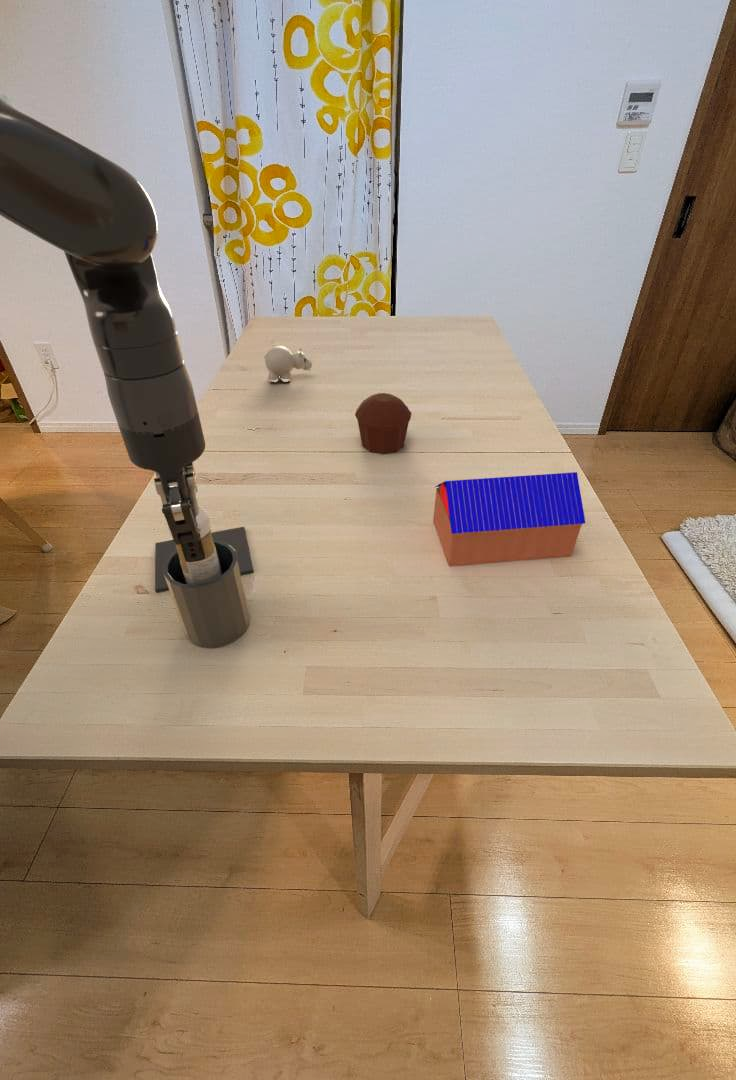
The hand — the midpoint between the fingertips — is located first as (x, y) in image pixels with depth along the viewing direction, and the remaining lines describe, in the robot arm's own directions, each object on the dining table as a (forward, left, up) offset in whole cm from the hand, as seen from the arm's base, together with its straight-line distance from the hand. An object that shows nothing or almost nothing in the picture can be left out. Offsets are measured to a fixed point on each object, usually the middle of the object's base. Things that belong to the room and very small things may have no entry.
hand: (194, 544), depth 61 cm
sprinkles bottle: (0, 0, -10) cm, 10 cm away
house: (+45, +5, -14) cm, 47 cm away
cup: (0, 0, -14) cm, 14 cm away
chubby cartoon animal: (+25, +79, -14) cm, 84 cm away
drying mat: (-1, +14, -14) cm, 20 cm away
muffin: (+37, +40, -14) cm, 56 cm away
